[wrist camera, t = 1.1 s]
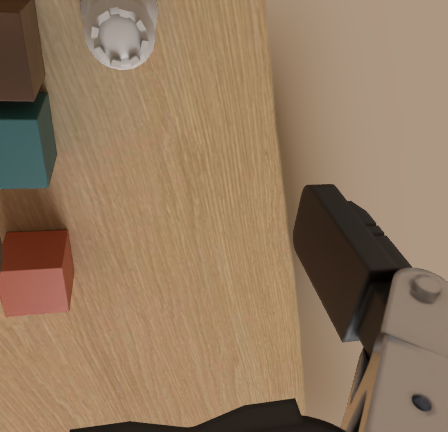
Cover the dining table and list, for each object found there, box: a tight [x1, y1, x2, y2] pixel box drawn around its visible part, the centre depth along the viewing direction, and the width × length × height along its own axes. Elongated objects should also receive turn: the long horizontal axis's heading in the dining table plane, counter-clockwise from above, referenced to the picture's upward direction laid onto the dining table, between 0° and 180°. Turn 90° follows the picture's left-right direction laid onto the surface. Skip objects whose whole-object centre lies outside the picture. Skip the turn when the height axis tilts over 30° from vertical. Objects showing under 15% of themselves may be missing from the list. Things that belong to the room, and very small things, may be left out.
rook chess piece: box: [80, 0, 158, 70], centre depth 22 cm, size 4×4×8 cm
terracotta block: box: [0, 230, 74, 317], centre depth 33 cm, size 4×4×4 cm
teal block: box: [0, 92, 57, 189], centre depth 26 cm, size 4×4×4 cm
